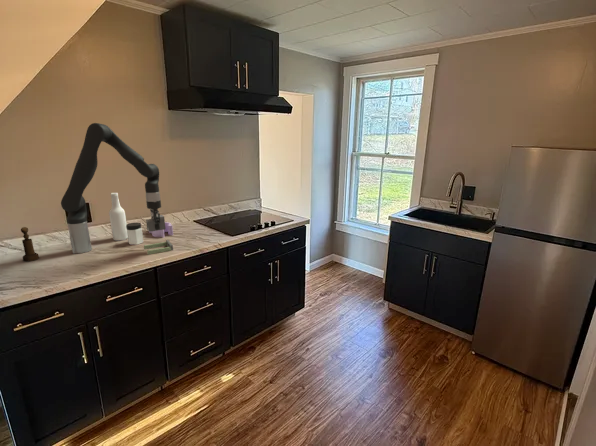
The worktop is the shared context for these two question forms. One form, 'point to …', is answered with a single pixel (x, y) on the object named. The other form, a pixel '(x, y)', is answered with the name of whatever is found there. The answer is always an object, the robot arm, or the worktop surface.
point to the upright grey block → (151, 224)
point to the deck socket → (169, 248)
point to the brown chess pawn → (28, 247)
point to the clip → (161, 232)
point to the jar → (134, 233)
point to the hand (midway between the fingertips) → (156, 228)
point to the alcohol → (117, 219)
